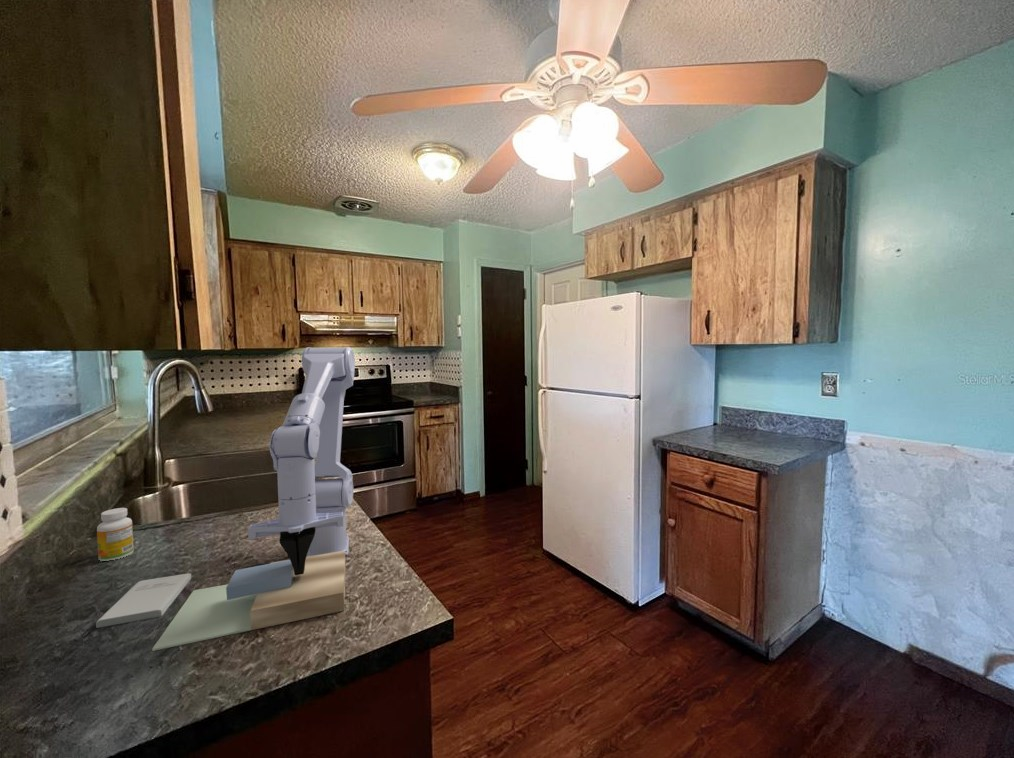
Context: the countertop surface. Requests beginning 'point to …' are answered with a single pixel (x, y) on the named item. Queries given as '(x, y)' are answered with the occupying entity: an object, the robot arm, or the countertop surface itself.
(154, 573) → the countertop surface
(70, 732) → the countertop surface
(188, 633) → the mat
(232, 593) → the blue flat block
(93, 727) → the countertop surface
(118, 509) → the supplement bottle
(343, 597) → the board
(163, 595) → the external hard drive
